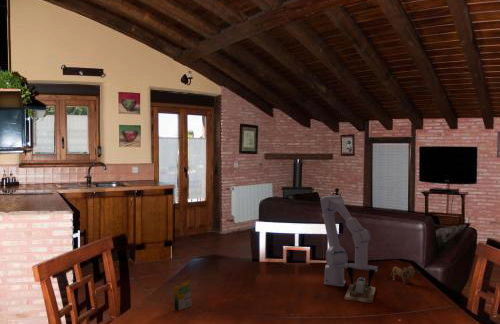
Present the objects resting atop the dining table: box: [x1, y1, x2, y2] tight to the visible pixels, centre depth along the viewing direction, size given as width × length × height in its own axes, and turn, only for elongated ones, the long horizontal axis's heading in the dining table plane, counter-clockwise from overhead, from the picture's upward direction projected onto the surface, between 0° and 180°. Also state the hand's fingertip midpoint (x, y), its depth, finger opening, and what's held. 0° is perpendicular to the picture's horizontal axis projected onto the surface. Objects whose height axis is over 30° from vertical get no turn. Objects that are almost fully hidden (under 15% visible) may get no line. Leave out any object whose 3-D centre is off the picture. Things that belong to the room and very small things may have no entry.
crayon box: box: [173, 279, 192, 311], centre depth 180 cm, size 7×3×12 cm, turn 141°
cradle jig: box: [344, 281, 377, 304], centre depth 197 cm, size 12×18×3 cm, turn 159°
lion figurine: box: [387, 265, 416, 285], centre depth 216 cm, size 15×5×9 cm, turn 37°
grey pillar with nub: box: [356, 276, 366, 293], centre depth 196 cm, size 3×10×6 cm, turn 159°
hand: (360, 284), depth 197 cm, fingers open, 7 cm apart
